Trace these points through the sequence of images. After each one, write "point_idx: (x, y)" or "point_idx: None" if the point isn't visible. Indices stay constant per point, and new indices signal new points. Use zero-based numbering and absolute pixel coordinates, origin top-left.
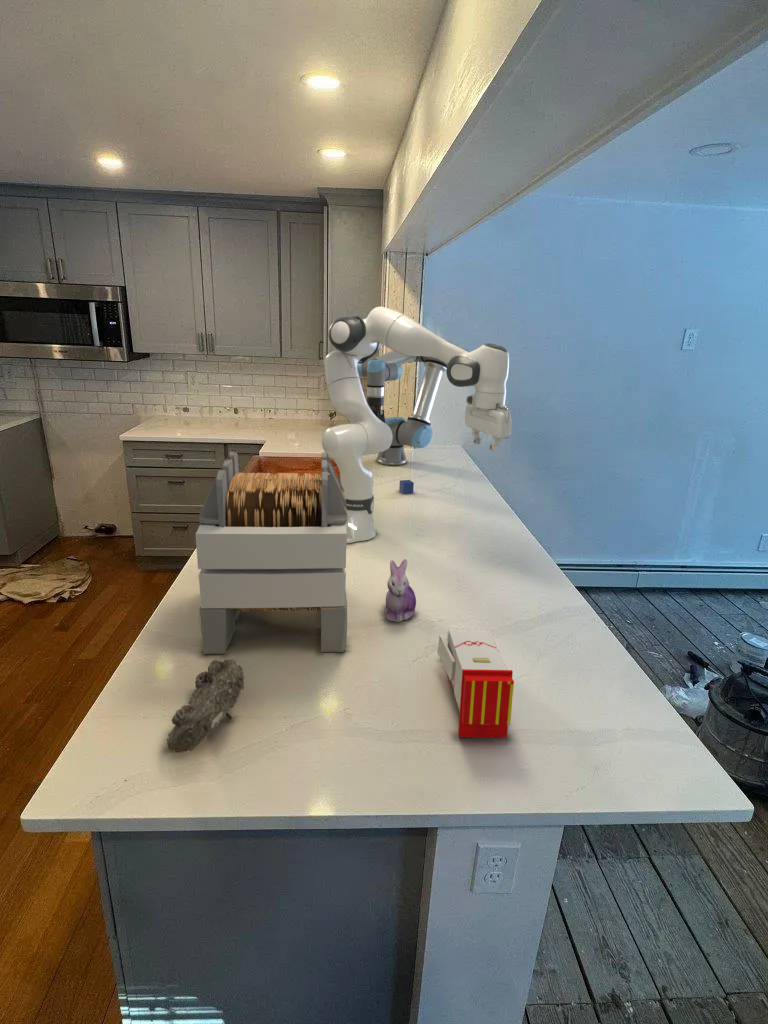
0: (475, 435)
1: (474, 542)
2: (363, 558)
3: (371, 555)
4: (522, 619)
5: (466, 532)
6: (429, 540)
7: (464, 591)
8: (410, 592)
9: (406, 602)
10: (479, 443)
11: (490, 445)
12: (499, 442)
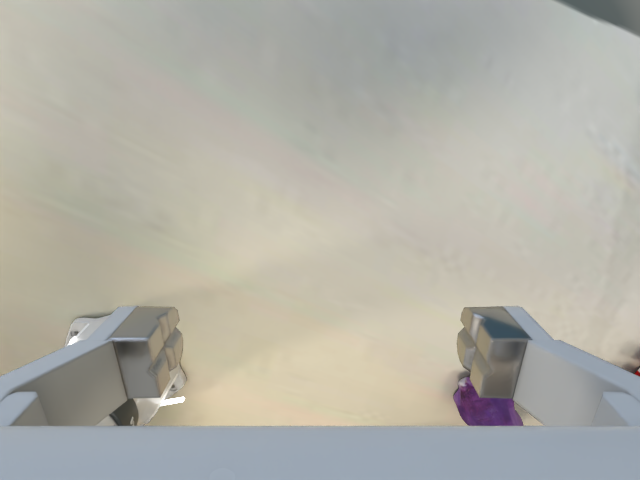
0: (93, 409)
1: (233, 94)
2: (263, 375)
3: (253, 358)
4: (615, 217)
5: (153, 74)
6: (196, 212)
7: (468, 263)
8: (510, 412)
9: (519, 416)
10: (174, 313)
11: (484, 390)
12: (619, 374)
